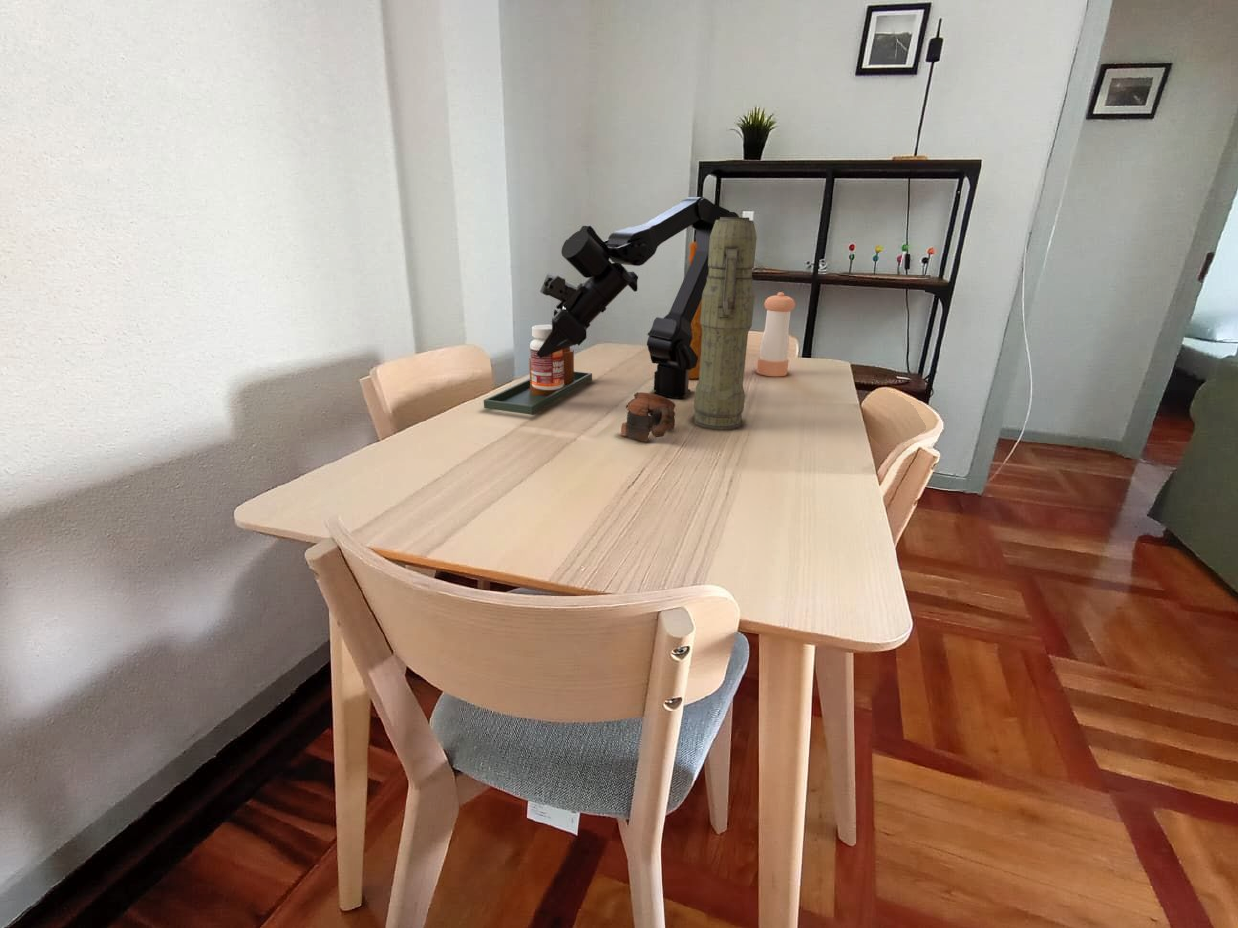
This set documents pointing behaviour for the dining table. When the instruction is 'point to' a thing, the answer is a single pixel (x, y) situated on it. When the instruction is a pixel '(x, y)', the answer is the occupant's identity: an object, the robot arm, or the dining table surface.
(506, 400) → the tray
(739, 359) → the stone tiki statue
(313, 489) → the dining table surface
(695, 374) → the wine bottle
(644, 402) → the brown rough arched piece
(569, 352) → the amber bottle end
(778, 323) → the pepper shaker
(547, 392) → the amber bottle middle
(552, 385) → the pill bottle
